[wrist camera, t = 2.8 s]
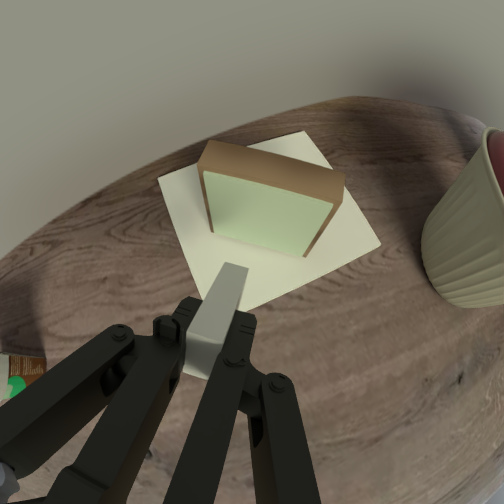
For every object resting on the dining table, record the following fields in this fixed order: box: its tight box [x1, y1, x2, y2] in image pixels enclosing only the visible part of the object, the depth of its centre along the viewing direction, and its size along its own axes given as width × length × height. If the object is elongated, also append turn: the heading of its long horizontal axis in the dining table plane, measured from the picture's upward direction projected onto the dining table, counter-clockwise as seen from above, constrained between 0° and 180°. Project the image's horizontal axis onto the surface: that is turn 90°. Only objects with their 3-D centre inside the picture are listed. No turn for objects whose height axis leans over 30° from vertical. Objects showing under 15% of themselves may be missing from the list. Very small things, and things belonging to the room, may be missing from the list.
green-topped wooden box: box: [197, 139, 345, 258], centre depth 23 cm, size 3×10×11 cm, turn 75°
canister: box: [421, 127, 504, 308], centre depth 19 cm, size 18×18×21 cm
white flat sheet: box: [158, 131, 381, 312], centre depth 29 cm, size 20×18×1 cm
